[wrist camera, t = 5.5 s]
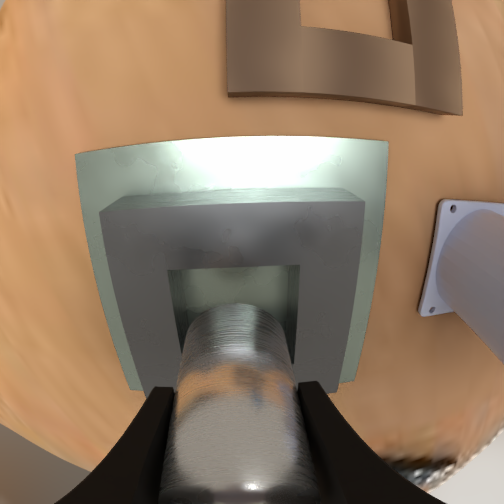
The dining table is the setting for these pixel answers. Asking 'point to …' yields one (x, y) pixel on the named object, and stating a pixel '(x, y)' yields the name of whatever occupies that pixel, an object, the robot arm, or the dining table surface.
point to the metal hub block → (236, 244)
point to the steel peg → (237, 416)
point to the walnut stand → (346, 56)
